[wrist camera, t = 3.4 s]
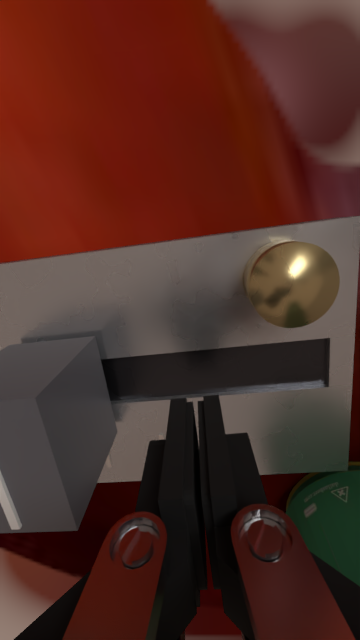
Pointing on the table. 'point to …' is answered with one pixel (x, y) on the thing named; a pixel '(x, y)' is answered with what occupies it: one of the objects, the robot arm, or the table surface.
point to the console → (210, 335)
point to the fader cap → (51, 433)
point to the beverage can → (330, 517)
